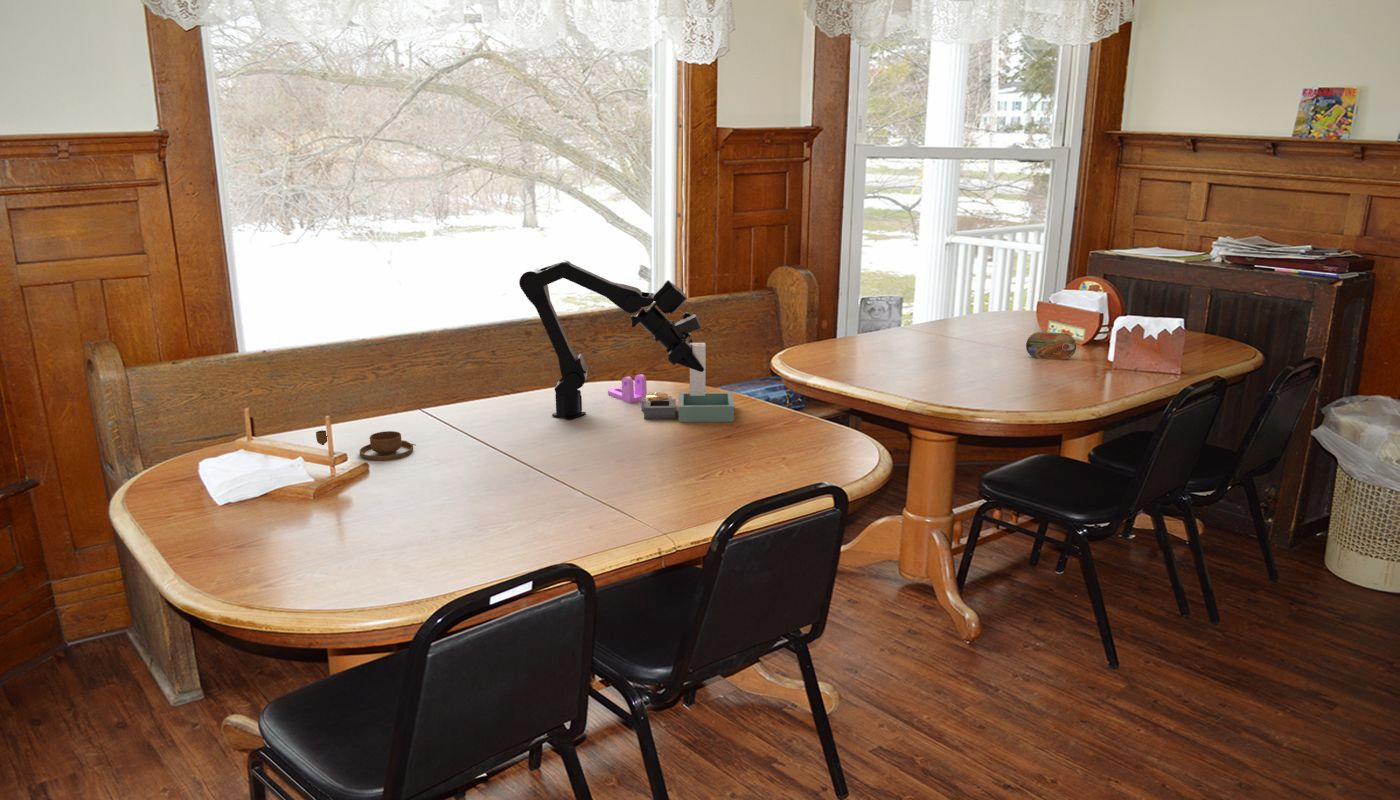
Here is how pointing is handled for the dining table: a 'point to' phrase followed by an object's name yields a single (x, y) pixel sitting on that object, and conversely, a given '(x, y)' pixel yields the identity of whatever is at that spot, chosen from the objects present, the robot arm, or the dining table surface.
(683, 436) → the dining table surface
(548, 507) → the dining table surface
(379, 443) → the place setting
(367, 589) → the dining table surface
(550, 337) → the robot arm
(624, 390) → the bracket
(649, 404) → the tensioner bracket
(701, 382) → the pin
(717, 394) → the tray
